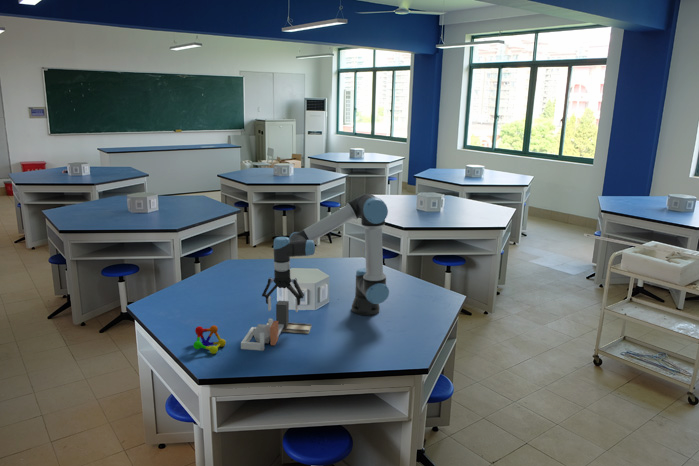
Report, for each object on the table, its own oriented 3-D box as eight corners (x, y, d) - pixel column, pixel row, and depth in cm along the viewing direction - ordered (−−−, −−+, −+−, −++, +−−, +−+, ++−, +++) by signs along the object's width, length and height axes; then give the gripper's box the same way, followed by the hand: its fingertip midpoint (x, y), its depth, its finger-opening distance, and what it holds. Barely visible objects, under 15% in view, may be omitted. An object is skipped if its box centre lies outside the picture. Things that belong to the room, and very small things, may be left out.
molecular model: (223, 348, 239) (194, 333, 238) (232, 331, 237) (202, 316, 236) (214, 364, 225) (182, 348, 224) (223, 346, 222) (191, 331, 221)
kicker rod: (288, 325, 256) (288, 301, 253) (278, 345, 235) (277, 319, 232) (278, 325, 257) (278, 300, 254) (267, 344, 236) (267, 318, 232)
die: (262, 349, 234) (275, 330, 234) (246, 338, 234) (259, 319, 235) (266, 347, 242) (278, 329, 243) (251, 336, 243) (263, 318, 244)
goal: (273, 334, 248) (273, 318, 246) (263, 350, 231) (263, 334, 229) (252, 332, 249) (251, 317, 247) (240, 349, 232) (240, 332, 230)
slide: (311, 326, 257) (311, 323, 256) (308, 333, 249) (308, 330, 249) (268, 323, 259) (268, 320, 259) (264, 330, 251) (263, 327, 251)
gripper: (309, 267, 249) (309, 308, 254) (258, 265, 252) (260, 306, 257) (306, 272, 242) (307, 314, 247) (254, 270, 244) (256, 312, 250)
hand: (283, 310), depth 252 cm, fingers open, 13 cm apart
